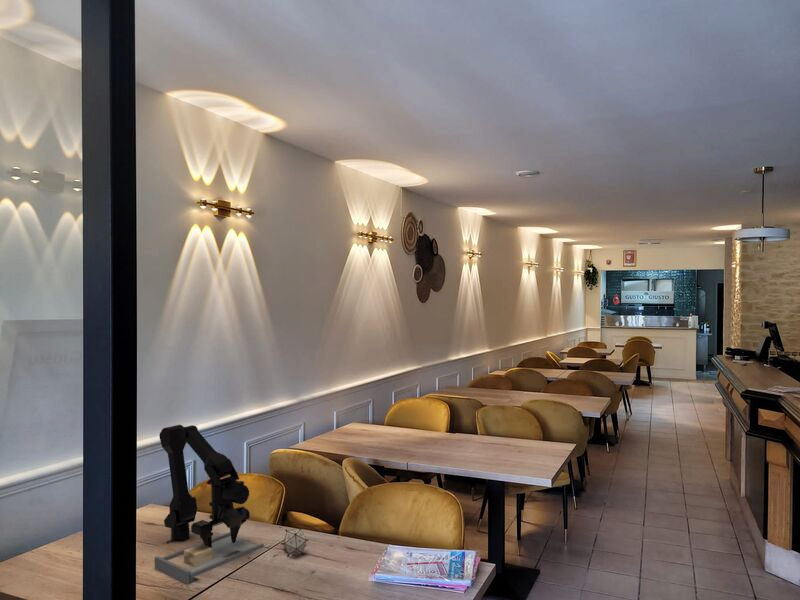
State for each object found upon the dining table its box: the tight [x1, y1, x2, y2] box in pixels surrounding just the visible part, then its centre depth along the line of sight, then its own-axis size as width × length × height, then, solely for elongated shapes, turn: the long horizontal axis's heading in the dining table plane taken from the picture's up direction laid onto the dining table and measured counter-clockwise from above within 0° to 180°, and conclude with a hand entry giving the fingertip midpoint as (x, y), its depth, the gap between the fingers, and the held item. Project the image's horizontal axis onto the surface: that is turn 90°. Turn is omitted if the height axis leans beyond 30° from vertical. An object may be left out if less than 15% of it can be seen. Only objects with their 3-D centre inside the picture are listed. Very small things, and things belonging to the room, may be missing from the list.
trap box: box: [154, 531, 264, 585], centre depth 187 cm, size 18×28×4 cm, turn 142°
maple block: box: [183, 543, 213, 568], centre depth 183 cm, size 6×6×4 cm
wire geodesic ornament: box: [280, 526, 309, 558], centre depth 190 cm, size 9×8×10 cm
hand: (222, 547), depth 190 cm, fingers open, 9 cm apart
